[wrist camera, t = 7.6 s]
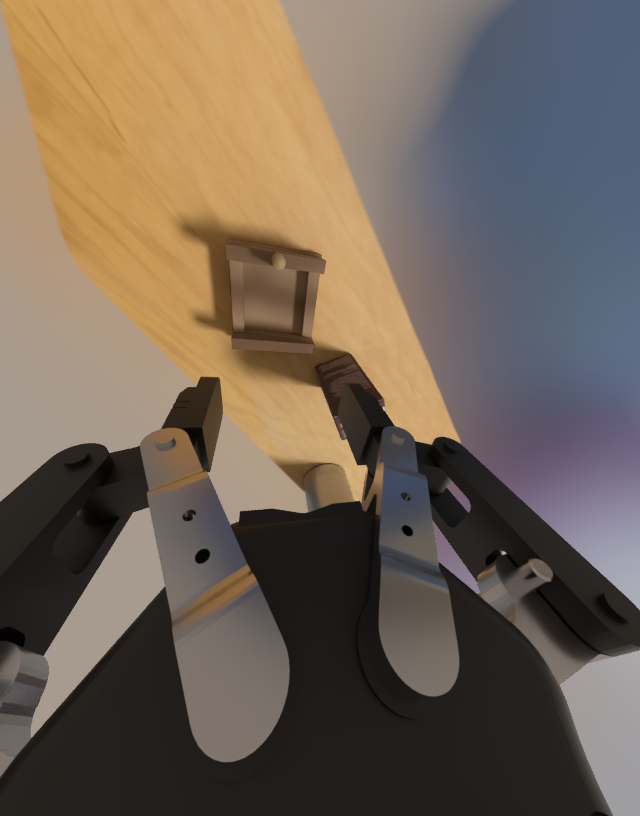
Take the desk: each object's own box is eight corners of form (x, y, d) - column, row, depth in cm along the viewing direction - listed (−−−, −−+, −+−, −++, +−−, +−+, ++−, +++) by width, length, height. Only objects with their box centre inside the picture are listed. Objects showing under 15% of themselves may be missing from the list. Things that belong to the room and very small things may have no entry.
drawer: (308, 342, 33) (317, 363, 28) (234, 336, 31) (228, 358, 26) (320, 254, 27) (332, 259, 22) (228, 238, 25) (219, 241, 20)
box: (322, 389, 38) (341, 442, 29) (313, 366, 35) (331, 415, 26) (357, 376, 38) (389, 425, 28) (351, 351, 35) (384, 396, 26)
